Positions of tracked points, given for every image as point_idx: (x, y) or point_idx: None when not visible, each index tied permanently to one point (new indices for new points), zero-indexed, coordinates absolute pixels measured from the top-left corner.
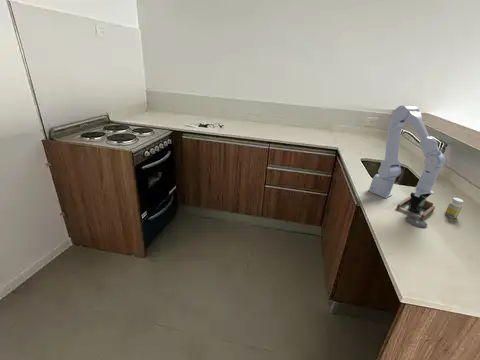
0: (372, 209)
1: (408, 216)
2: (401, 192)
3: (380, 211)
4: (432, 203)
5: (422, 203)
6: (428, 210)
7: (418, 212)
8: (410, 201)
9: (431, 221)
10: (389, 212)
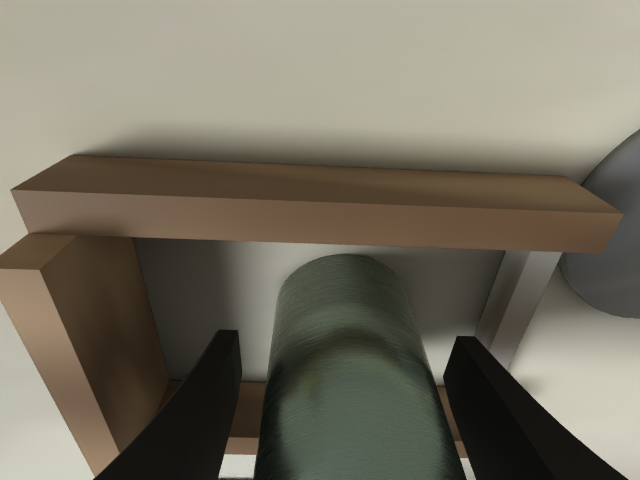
0: (632, 472)
1: (611, 311)
2: (21, 461)
3: (630, 443)
4: (43, 273)
5: (416, 397)
6: (331, 227)
7: (386, 274)
8: (162, 390)
9: (490, 80)
10: (598, 409)
